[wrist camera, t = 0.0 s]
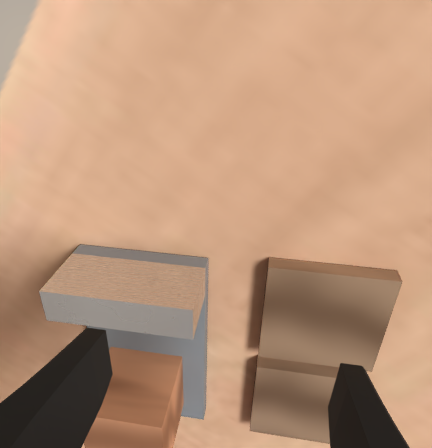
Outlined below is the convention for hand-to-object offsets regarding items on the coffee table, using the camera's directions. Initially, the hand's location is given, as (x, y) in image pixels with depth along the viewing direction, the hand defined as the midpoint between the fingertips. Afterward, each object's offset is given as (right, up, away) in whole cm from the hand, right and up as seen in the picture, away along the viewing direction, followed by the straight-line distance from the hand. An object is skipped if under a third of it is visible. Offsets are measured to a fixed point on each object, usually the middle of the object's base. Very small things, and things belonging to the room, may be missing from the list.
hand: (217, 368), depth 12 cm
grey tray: (-5, -3, +14) cm, 15 cm away
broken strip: (+6, -4, +13) cm, 15 cm away
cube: (-5, -6, +15) cm, 17 cm away
